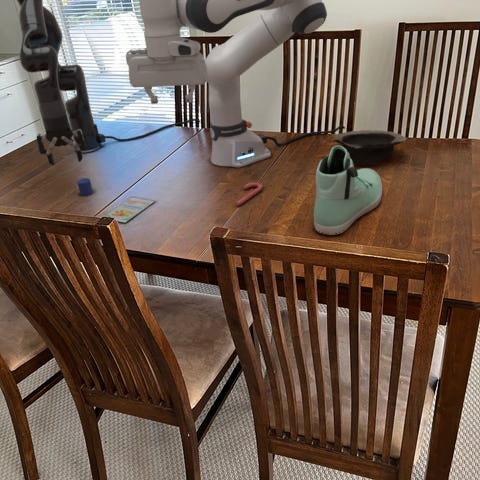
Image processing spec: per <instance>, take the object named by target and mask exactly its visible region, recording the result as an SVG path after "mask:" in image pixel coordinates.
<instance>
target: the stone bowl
mask: <svg viewBox="0 0 480 480" xmlns="http://www.w3.org/2000/svg"><path fill="white" fill-rule="evenodd" d="M332 141H333V142H335V143H337V144H340V145H341V146H342V147H344V148H345V149H346V150H347V152H348V153H349V156H350V159H352V161H353V165H355V166H357V165H360V166H369V165H377V164H380V163H381V162H382V160H391V159H392V158H393V156H394V151H395V146H397V145H400V144H403V143H404V142H406V141H407V137H405V136H404V135H402V134H400V133H397V132H393V131H387V130H386V131H385V130H352V131H351V130H350V131H345V132H342V133H337V134H336V135H334V136H333V140H332Z"/></svg>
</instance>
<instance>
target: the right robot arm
mask: <svg viewBox="0 0 480 480" xmlns="http://www.w3.org/2000/svg"><path fill="white" fill-rule="evenodd" d="M138 1H139V10H140V17H141V20H142V22H143V26H144V31H143V32H144V33H143V35H144V36H143V37H144V42H145V47H144V48H143V47H142V48H131V49H130V50H128V51H127V52H126V54H125V61H126V65H127V66H128V80H129V84H130V85H131V87H132V88H144V92H145V94H146V95H147V96H148V97H149V99H150V105H157V104H158V103H159V99H158V98H159V97H158V95H155V94H154V93H153V91H152V89H153V88H156V87H157V88H158V87H176V86H177V87H178V86H179V87H180V86H187V89H188V90H189V93H188V94H186V95H185V96H184V97H185V102H186V103H193V101H194V99H193V94H194V92H195V90H196V86H202V85H203V86H204V85H205V84H206V83H208V104H209V105H208V106H209V116H210V123H209V127H210V128H209V130H210V131H209V132H210V138H211V146H212V147H211V156H210V162H211V164H212V165H215V166H219V167H232V168H242V167H246V166H249V165H251V164H254V163H257V162H261V161H264V160H265V159H268V158H271V156H272V154H271V151H270V150H269V148H267V147H265V145H266V144H268V140H271V141H273V143H274V144H275V145H276V146H278V147H282V146H285V145H288V144H290V143H292V142H294V141H297V140H299V139H302V138H305V137H308V136H313V135H325V134H333V133H336V132H338V131H339V130H340V129H342V130H345V129H346V127H345V126H344V125H342V124H341V125H339V126H337V127H336V128H334V129H330V130H321V131H311V132H305V133H302V134H300V135H298V136H295V137H293V138H290V139H288V140H287V141H285V142H282V143H281V142H280V143H279V142H278V141H277V139H276V138H275V137H273V136H268V135H267V136H266V135H264V134H262V133H258V134H256V132H253V131H252V130H250V129H251V128H252V127H253V123H252V122H250V121H248V120H245V119H244V118H243V115H242V102H241V101H242V100H241V76H242V75H243V74H244V73H246V72H247V71H248V70H249V69H251V67H253V66H254V65H255V64H256V63H258V61H260V60H262V59H263V58H264V57H266V56H267V55H268V54H270V53H271V52H273V51H275V49H277V48H279V46H281V45H282V44H284V43H285V42H286V41H288V40H289V39H290V38H291V37H292V36H293V35H294V34H296V33H297V34H299V35H309V34H312V33H313V32H316V31H317V30H319V28H321V27H322V26H323V25H324V23H325V21H326V20H327V16H328V12H327V8H326V5H325V3H324V2H323V1H322V0H138ZM255 11H264V12H263V13H261V14H260V15H259V16H257V17H255V18H254V19H253V20H252V21H250V22H249V23H248V24H246V25H245V26H244V27H242V28H240V30H238V31H237V32H236V33H235V34H234V35H233V36H231V37H230V38H229V39H227V40H226V41H225V42H224V43H223V44H219V45H216V46H214V47H213V48H212V49H211V50H210V51H209V53H208V55H207V56H206V57H204V55H203V54H202V53H201V52H200V50H201V43H200V42H198V41H196V40H192V39H189V38H185V37H182V36H181V28H187V29H191V30H193V29H194V30H198V31H201V32H204V33H207V34H214V33H217V32H219V31H221V30H223V29H224V28H225V27H226V26H227V25H228V24H229V23H231V21H232V20H234V19H236V18H238V17H240V16H243V15H246V14H249V13H252V12H255Z"/></svg>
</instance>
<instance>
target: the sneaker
mask: <svg viewBox="0 0 480 480" xmlns="http://www.w3.org/2000/svg"><path fill="white" fill-rule="evenodd" d="M317 165H318V166H317V168H316V172H315V201H314V207H313V225H314V229H315V231H316V232H318V233H320V234H323V235H326V236H327V235H328V236H336V235H339V234H342V233H344V232H345V231H347V230H348V229H349V228H350V227H351V226H352V225H353V224H354V222H356V221H357V220H358V219H359V218H360V217H362V216H363V215H365V214H367V213H370V212H372V210H374V209H375V208H377V207H378V205H380V203H381V200H382V196H383V184H382V183H383V182H382V179H381V176H380V175H379V173H378V172H377V171H376V170H374V169H372V168H367V167H365V168H358V169H357V168H355V167H354V164H353V161H352V159H351V158H350V156H349V153H348V152H347V150H346V149H345V148H344V147H342V145H334V146H333V147H331V149H330V151H329V154H327V155H326V156H325V157H324V158H322V159H321V160H320V161H319V163H318V164H317ZM343 230H344V231H343ZM319 231H320V232H319ZM322 232H323V233H322ZM339 232H340V233H339ZM326 233H327V234H326ZM328 233H329V234H328ZM335 233H337V234H335Z"/></svg>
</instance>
